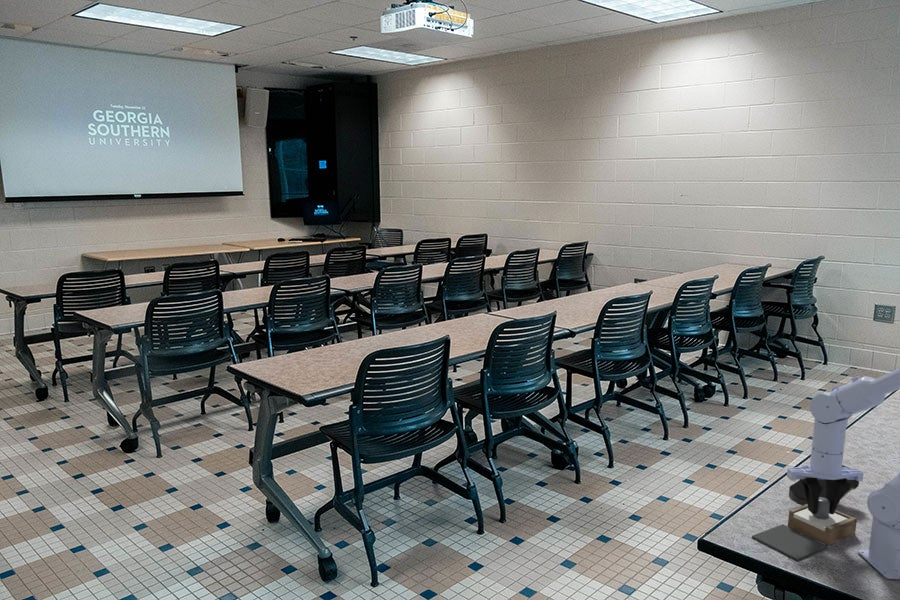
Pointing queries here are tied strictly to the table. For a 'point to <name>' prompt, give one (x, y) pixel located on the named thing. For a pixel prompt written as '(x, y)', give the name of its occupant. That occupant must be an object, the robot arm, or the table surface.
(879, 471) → the table surface
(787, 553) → the rubber mat
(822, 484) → the black sponge
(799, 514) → the cover plate
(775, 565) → the table surface
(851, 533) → the walnut case
